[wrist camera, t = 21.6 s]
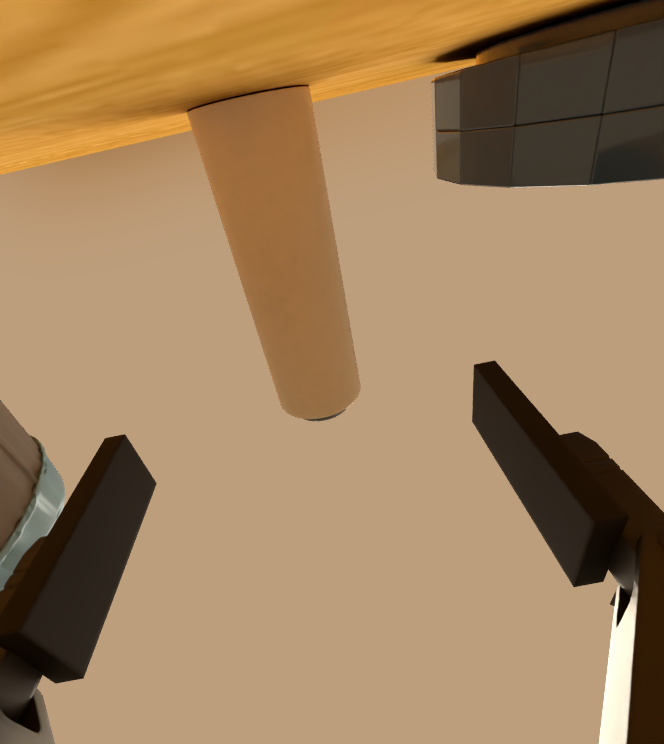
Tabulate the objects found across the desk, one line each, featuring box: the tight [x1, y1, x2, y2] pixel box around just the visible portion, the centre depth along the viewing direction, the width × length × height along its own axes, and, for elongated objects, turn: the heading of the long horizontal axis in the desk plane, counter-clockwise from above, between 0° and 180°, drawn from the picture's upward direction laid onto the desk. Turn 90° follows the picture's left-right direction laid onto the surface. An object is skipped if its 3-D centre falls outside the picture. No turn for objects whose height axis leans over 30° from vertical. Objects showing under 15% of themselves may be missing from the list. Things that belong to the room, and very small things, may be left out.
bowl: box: [431, 0, 664, 188], centre depth 16 cm, size 16×16×4 cm
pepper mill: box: [187, 86, 360, 421], centre depth 21 cm, size 5×5×17 cm
